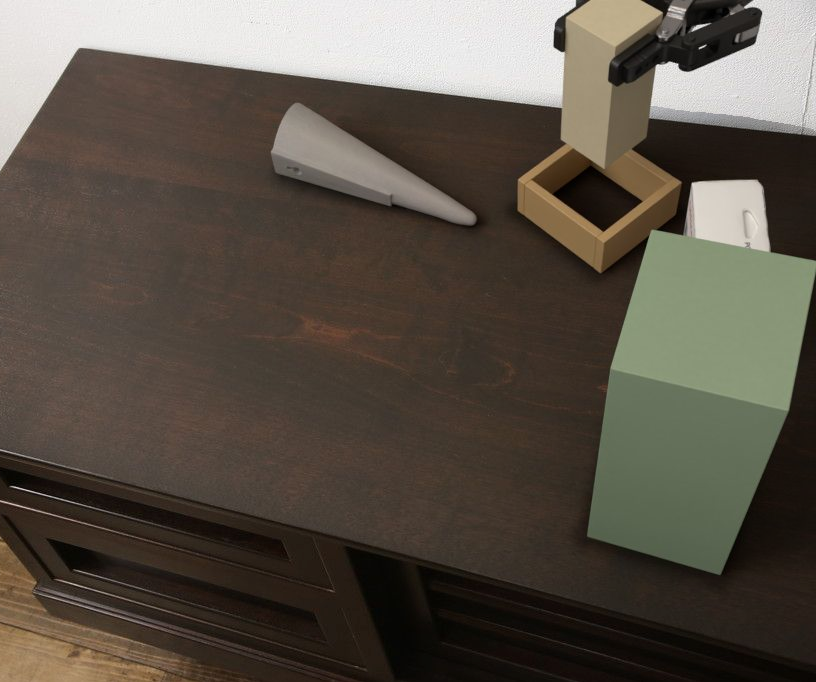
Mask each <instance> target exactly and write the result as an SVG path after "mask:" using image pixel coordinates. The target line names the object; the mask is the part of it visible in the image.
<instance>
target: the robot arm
mask: <svg viewBox="0 0 816 682" xmlns="http://www.w3.org/2000/svg"><path fill="white" fill-rule="evenodd" d="M589 1H590V0H575V6H573V7H572V8H571V9H570V10H568V11H567V12H566V13H564V14H563V15H561V16H560V17H558V18H557V19H556V20H555V23H554V29H553V39H552V41H553V43H552V44H553V45H552V47H553V48H554V49H555V50H557V51H558V52H560V53H564V52H565V32H566V17H567V16H569V15H570V14H571V13H573V12H574V11H576V10H577V9H579V8H580V7H581V6H583V5H584V4H586V3H587V2H589ZM641 1H643V2H645V3H646V4H648V5H650V6H652V7H654V8H656V9H657V10H659V11H661V12H663V17H662V22H661V23H660V25H659V26H658V28H657V29H656V33H655V35H654V36H653V35H651V34H649V33H648V34H646V35H645V36H643V37H642V38H641V39H639V40H638V41H636V42H635V43H634V44H632V45H631V46H629V47H628V48H627V49H625V50H624V51H623V52H621V53H620V54H618V55H617V56H616V57H614V58H613V59H612V60H611V62H610V64H609V73H608V82H610V83H611V84H613V85H614V86H616V87H618V86H620V85H622V84H623V83H624V82H625V83H626V84H628V83H631V82H634V81H636V80H637V79H638V78H640V77H641V76H643V75H644V74H645V73H647V72H648V71H649V70H651V69H652V68H653V67H655V66H656V67H657V65H658V66H659V65H660V66H661V65H662V66H663V65H666V64H669V63H673V64H677V68H678V69H679V71H682V72H683V73H690V72H693V71H696V70H698V69H700V68H703V67H705V66H707V65H709V64H712V63H714V62H716V61H719V60H721V59H724V58H727V57H728V56H730V55H733V54H735V53H738V52H740V51H743V50H745V49H747V48H749V47H752V46H754V45H755V44H756V42H757V39H758V34H759V31H760V28H761V24H762V23H761V22H762V17H763V10H762V9H761V8H759V7H757V6H756V7H755V6H751V7H750V6H749V7H747V8H746V6H748V5H749V4H750V3H752V2H753V1H754V0H641ZM701 25H702V26H701ZM703 25H704V26H703ZM697 26H701V27H700V28H697V29H695V28H696V27H697ZM694 29H695V30H694Z"/></svg>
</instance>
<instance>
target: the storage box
mask: <svg viewBox="0 0 816 682" xmlns="http://www.w3.org/2000/svg"><path fill="white" fill-rule="evenodd" d="M590 166H591V167H592V168H594V169H595V170H596V171H598V172H599V173H601V174H603V175H604V176H605V177H607V178H608V179H610V180H611V181H613V182H614V183H615V184H617V185H618V186H620V187H621V188H622V189H624V190H625V191H627V192H628V193H630V194H632V195H633V196H634V197H636V198H638V199H639V200H640V201H641V203H639V204H638V205H637V206H636V207H634V208H632V210H630V211H629V212H628V213H627V214H625V215H623V217H621V218H620V219H618V220H617V221H616V222H615V223H613V224H612V225H610V226H609V227H608V228H607V229H606V230H605V231H603V230H601V229H600V228H599V227H597V226H596V225H595V224H593V223H592V222H591V221H589V220H588V219H587V218H585V217H584V216H583V215H581V214H580V213H578V212H577V211H575V210H574V209H573V208H572V207H570V206H569V205H567V204H565V203H564V202H563V201H562V200H560V199H559V198H557V197H556V196H555V195H553V194H555V193H556V192H557V191H558V190H560V189H561V188H563V187H564V186H566V185H567V184H568V183H569V182H571V181H572V180H573V179H575V178H576V177H577V176H579V175H580V174H581V173H582V172H584V171H585V170H587V169H588V168H589V167H590ZM682 184H683V182H682V181H681V180H679V179H678V178H676V177H674V176H672V174H670V173H668V172H666V171H665V170H664V169H662V168H660V167H659V166H657V165H656V164H654V163H653V162H652V161H650V160H649V159H647V158H645V157H644V156H642V155H641V154H639V153H638V152H636V151H635V150H633V148H632V149H630V150H629V151H628V152H626V153H625V154H624V155H622V156H621V157H620V158H618V159H617V160H616V161H615V162H613V163H612V164H611V165H609V166H608V167H607V168H605V169H603V168H602V167H600V166H599V165H597V164H596V163H594V162H593V161H591V160H590V159H589V158H587V157H586V156H584V155H583V154H581V153H580V152H578V151H577V150H575V149H574V148H572V147H571V146H569V145H568V144H566V143H565V144H564V145H563V146H561V147H560V148H558V149H557V150H556V151H554V152H553V153H551V154H550V155H549V156H547V157H546V158H544V160H542V161H540V163H538V164H537V165H536V166H534V167H533V168H531V169H529V170H528V171H527V172H526V173H525V174H523V175H522V176H520V177H519V178H518V179H517V212H518V213H520V214H521V215H523V216H524V217H525V218H527V219H528V220H529V221H531V222H532V223H533V224H535V226H537V227H539V228H540V229H541V230H542V231H544V232H545V233H547V234H548V235H549V236H551V237H552V238H554V239H555V240H556V241H557V242H558V243H560V244H561V245H562V246H564V247H565V248H567V250H569V251H570V252H571V253H574V254H575V255H576V256H577V257H578V258H580V259H581V260H582V261H584V262H585V263H586V264H588V265H589V266H590V267H592V268H593V269H594V270H595V271H596V272H598V273H599V274H602V273H604V271H606V270H607V269H609V268H610V267H611V266H613V265H614V264H615V263H616V262H617V261H619V260H620V259H621V258H623V257H624V256H625V255H626V254H627V253H629V252H631V250H633V249H634V248H635V247H637V246H638V245H639V244H640V243H642V242H643V241H644V240H645V239H646V238H649V236H650V233H651V230H657V231H658V229H660V228H661V227H662V226H664V224H666V223H668V221H669V220H671V219H672V218H673V217H675V216H676V215H677V211H678V210H677V209H678V204H679V199H680V194H681V189H682Z"/></svg>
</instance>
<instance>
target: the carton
mask: <svg viewBox="0 0 816 682" xmlns="http://www.w3.org/2000/svg"><path fill="white" fill-rule="evenodd" d="M662 17H663V12H661V11H659V10H657V9H656V8H654V7H652V6H650V5H648V4H646V3H645V2H643V1H641V0H590V1H589V2H587V3H586V4H584V5H583V6H581V7H580V8H579V9H577V10H576V11H574V12H573V13H571V14H570V15H569V16H567V17H566V32H565V52H563V54H564V56H563V74H562V75H563V79H562V97H561V98H562V100H561V101H562V102H561V123H560V124H561V125H560V140H561V141H562V142H563V143H565V144H568V145H569V146H571V147H572V148H574V149H575V150H577V151H578V152H580V153H581V154H583V155H584V156H586V157H587V158H589V159H590V160H591V161H593V162H594V163H596V164H597V165H599V166H600V167H602V168H603V169H605V168H607V167H608V166H609V165H611V164H612V163H613V162H615V161H616V160H617V159H618V158H620V157H621V156H622V155H624V154H625V153H626V152H628V151H629V150H630V149H632V150H633V149H634V148H635V146H637V145H638V144H640V143H641V142H642V141H644V140H645V139H646V138H647V136H648V129H649V122H650V113H651V105H652V98H653V92H654V85H655V84H654V83H655V76H656V69H657V68H656V67H657V65H656V66H655V67H653V68H652V69H651V70H649V71H648V72H647V73H645V74H644V75H643V76H641V77H640V78H638V79H637V80H636V81H634V82H631V83H628V84H626V83H625V82H624V83H623V84H622V85H620V86H618V87H616V86H614V85H613V84H611V83H610V82H608V73H609V64H610V62H611V60H612V59H613V58H614V57H616V56H617V55H618V54H620V53H621V52H623V51H624V50H625V49H627V48H628V47H629V46H631V45H632V44H634V43H635V42H636V41H638V40H639V39H641V38H642V37H643V36H645V35H646V34H648V33H649V34H651V35H653V36H654V35H655V33H656V29H657V28H658V26H659V25H660V23H661V22H662Z"/></svg>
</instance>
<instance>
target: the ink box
mask: <svg viewBox="0 0 816 682" xmlns="http://www.w3.org/2000/svg"><path fill="white" fill-rule="evenodd" d="M765 198H766V197H765V189H764V186H763V184H762V183H761V182H759V180H758V179H726V180H725V179H724V180H722V179H721V180H703V181H693V182H691V185H690V192H689V198H688V203H687V211H686V218H685V223H684V229H683V236H688V237H694V238H699V239H704V240H709V241H714V242H720V243H725V244H730V245H735V246H741V247H746V248H751V249H756V250H761V251H767V252H771V243H770V238H769V225H768V218H767V211H766V210H767V209H766V199H765Z"/></svg>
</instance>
